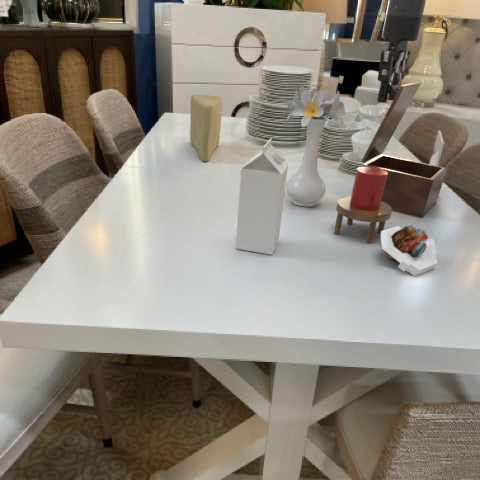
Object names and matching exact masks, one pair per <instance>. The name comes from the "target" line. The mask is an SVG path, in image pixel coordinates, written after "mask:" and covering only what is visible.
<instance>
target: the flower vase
mask: <svg viewBox="0 0 480 480" xmlns="http://www.w3.org/2000/svg"><path fill="white" fill-rule="evenodd" d="M316 92H317V87H314V88H311V90H309V92H307V89H306V87H304V86H301V87H300V88H299V89H298V90H297V88H295V92H294V96H293V100H291V101H290V102H288V103H287V107H286V108H289V110H288V112H289V113H288V115H287V118H286V122H285V124H284V126H287V125H288V124H289V123H290V121H291V120H293V119H294V118H296V117H302V118H301V121H300V126H301V127H302V128H305V127H306V140H305V147H304V150H303V151H304V152H303V157H302V161H301V163H300V167H299V168H298V170H297V172H296V173H295V174H294V175H292V176H291V177H290V178H289V179H288V181H287V182H286V185H285V192H286V194H287V195H288V196H289V197H290V201H291V203H292V204H294V205H295V206H299V207H305V208H310V207H315V206H316V205H317V203H318V201H319V200H321V199H322V198H323V197H324V196H325V194H326V190H327V189H326V184H325V182H324V180H323V179H322V177H321V176H320V174H319V169H318V158H319V157H318V156H319V149H320V148H319V146H320V141H321V136H322V132H323V129H324V127H325V125H326V122H327V117H329V118H331V119H333V120H334V121H337V122H338V123H339V125H340V126H341V127H342V128H343V129H346V125H345V122H344V119H343V118H342V117H343V116H344V115H345V114H346V108H345V107H344V106H345V103H344V102H343V101H341V95H340V91H339V90H337V92H336V95H334V96H333V99H332V93H331V91H330V89H327V88H326V89H325V90H324V91H322V90H320V91H318V92H317V93H316Z"/></svg>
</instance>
